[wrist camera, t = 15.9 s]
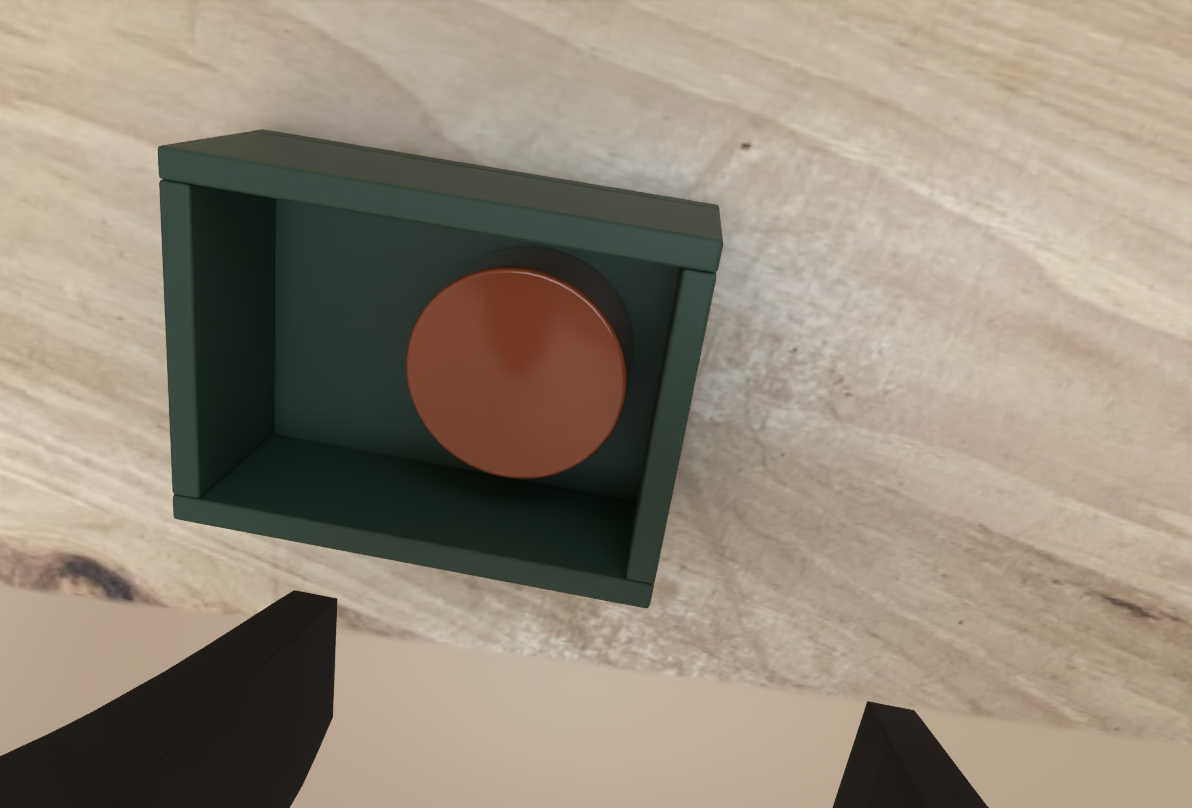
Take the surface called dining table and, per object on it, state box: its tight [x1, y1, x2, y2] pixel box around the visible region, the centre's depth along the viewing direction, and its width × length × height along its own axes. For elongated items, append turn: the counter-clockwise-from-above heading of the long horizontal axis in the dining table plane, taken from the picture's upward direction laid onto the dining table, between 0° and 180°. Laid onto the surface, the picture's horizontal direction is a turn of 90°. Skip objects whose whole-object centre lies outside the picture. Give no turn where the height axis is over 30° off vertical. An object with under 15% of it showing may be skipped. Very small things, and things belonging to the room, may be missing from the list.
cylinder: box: [406, 246, 634, 479], centre depth 19 cm, size 5×5×2 cm
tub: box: [158, 130, 723, 608], centre depth 19 cm, size 8×10×4 cm
